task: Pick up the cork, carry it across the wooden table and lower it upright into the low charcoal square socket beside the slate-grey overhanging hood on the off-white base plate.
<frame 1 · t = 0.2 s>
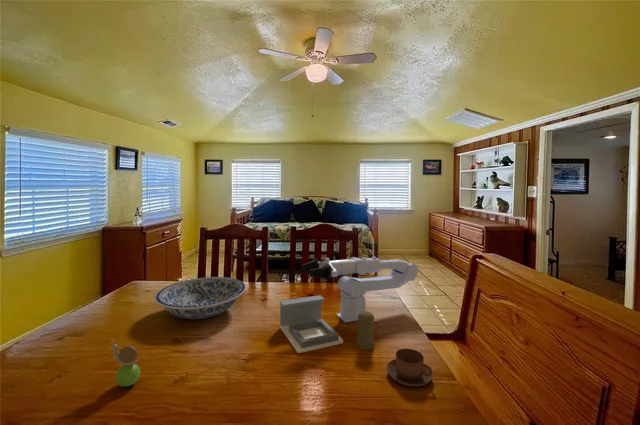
hand: (305, 270, 113), 21 cm above the table, tool horizontal, fingers open, 7 cm apart
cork: (365, 345, 102), on the table
ceramic bowl: (202, 313, 126), on the table
snail figurine: (126, 385, 80), on the table
socket block: (310, 335, 108), on the table
cup and saucer: (408, 377, 85), on the table
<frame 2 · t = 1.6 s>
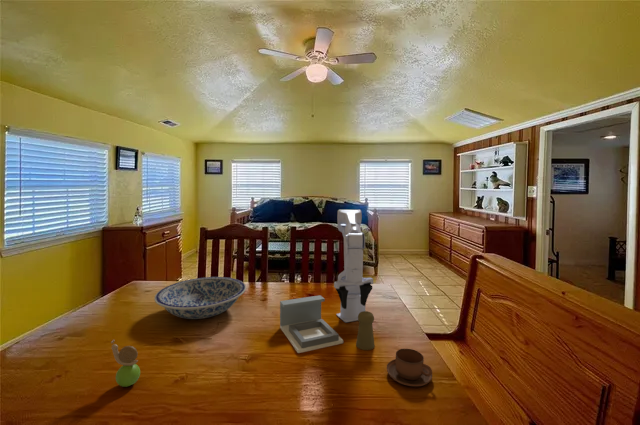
hand: (353, 306, 107), 10 cm above the table, tool pointing down, fingers open, 7 cm apart
nothing on the table moved.
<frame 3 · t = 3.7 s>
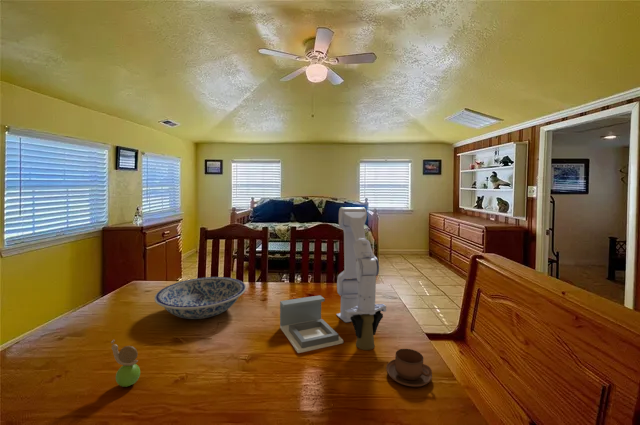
hand: (365, 335, 101), 3 cm above the table, tool pointing down, fingers closed on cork, 5 cm apart
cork: (365, 345, 102), on the table, touching gripper
everything else where it was.
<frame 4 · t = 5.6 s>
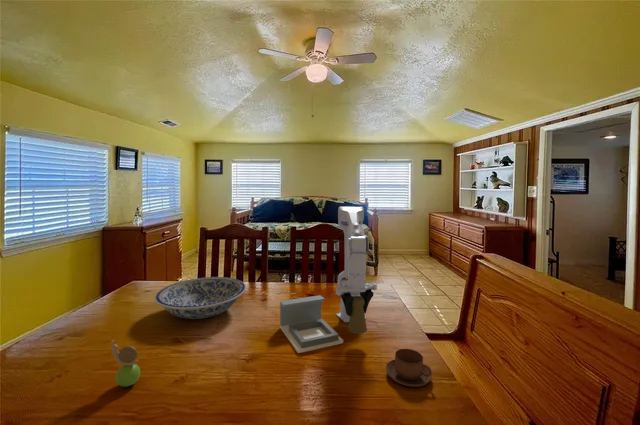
hand: (356, 313, 102), 10 cm above the table, tool pointing down, fingers closed on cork, 5 cm apart
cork: (357, 330, 102), point 5 cm above the table, touching gripper
everything else where it was.
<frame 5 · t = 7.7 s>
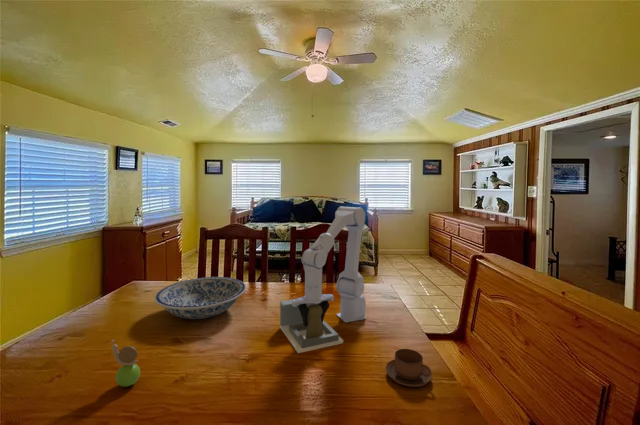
hand: (312, 323, 105), 5 cm above the table, tool pointing down, fingers closed on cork, 5 cm apart
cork: (314, 337, 104), point 1 cm above the table, touching gripper, socket block
everything else where it was.
when the fingers open (5 cm above the table, at t = 8.3 s): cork stays where it is, resting on socket block.
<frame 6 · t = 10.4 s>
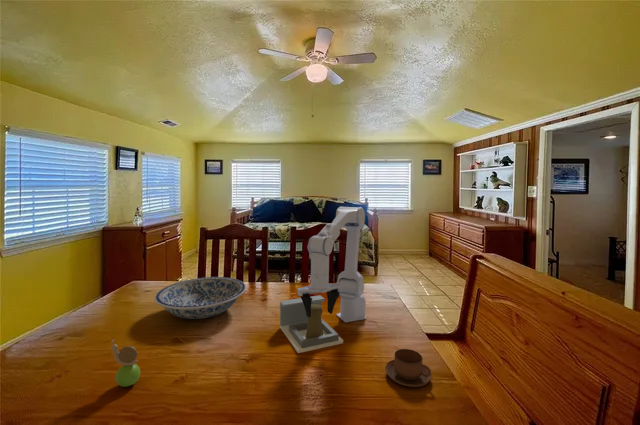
hand: (319, 314, 100), 10 cm above the table, tool pointing down, fingers open, 7 cm apart
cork: (314, 337, 104), point 1 cm above the table, touching socket block
everything else where it was.
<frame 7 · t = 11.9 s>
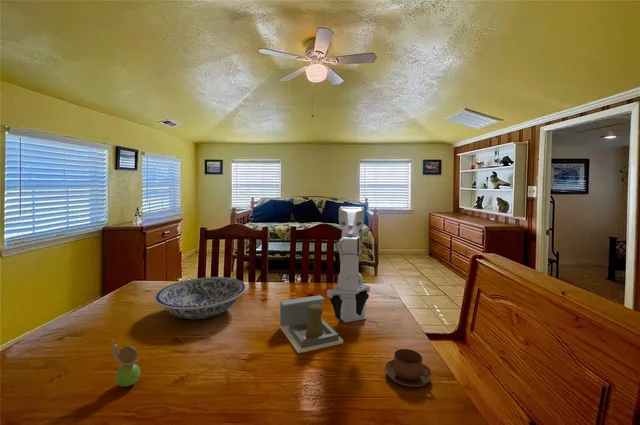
hand: (348, 316, 99), 10 cm above the table, tool pointing down, fingers open, 7 cm apart
nothing on the table moved.
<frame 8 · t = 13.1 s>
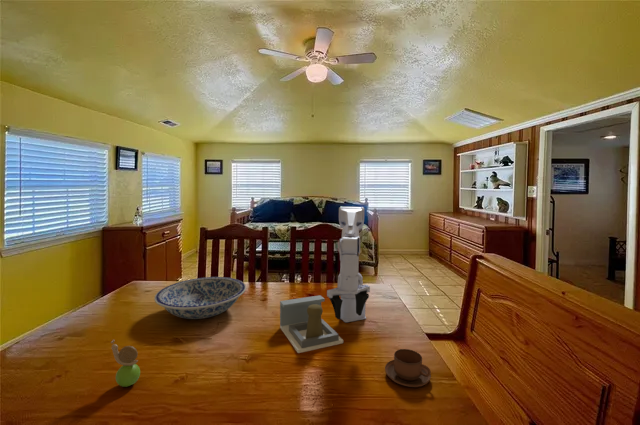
hand: (348, 316, 99), 10 cm above the table, tool pointing down, fingers open, 7 cm apart
nothing on the table moved.
at the end: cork 1.4 cm from the target spot on the socket block, point 0.8 cm above the socket block's base; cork tilted 0°; the gripper is holding nothing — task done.
